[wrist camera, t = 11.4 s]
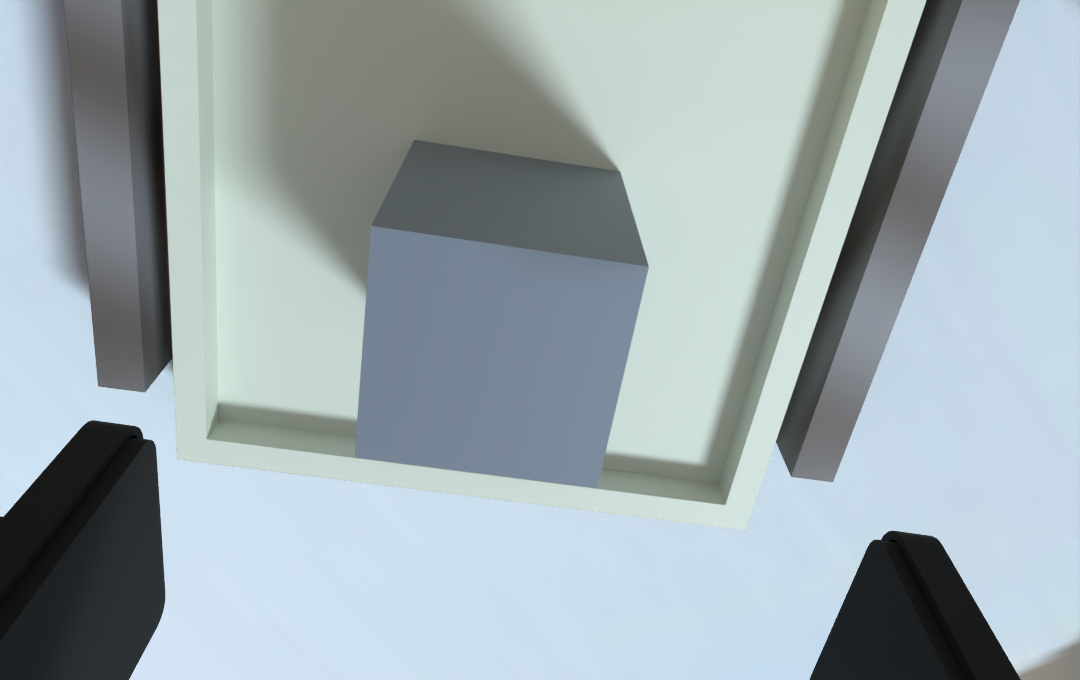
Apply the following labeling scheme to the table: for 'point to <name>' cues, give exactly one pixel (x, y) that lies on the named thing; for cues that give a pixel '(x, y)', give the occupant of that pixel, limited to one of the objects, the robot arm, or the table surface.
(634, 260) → the slate block
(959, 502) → the table surface
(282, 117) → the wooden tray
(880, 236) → the guide base
